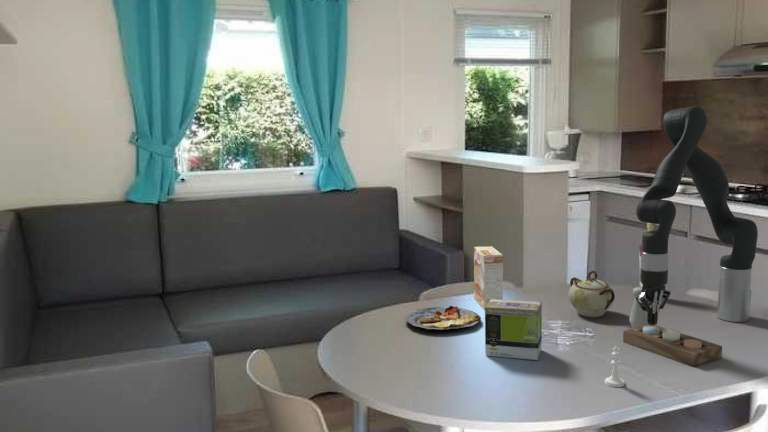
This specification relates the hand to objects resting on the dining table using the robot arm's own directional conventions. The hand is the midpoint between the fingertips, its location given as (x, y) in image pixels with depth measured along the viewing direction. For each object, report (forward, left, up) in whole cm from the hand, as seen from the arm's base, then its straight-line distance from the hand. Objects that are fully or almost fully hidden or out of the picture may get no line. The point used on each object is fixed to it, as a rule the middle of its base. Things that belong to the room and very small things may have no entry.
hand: (652, 324), depth 207 cm
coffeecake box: (+14, -59, -6) cm, 61 cm away
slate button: (0, 0, -4) cm, 4 cm away
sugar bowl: (-7, -30, -6) cm, 32 cm away
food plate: (+40, -50, -6) cm, 65 cm away
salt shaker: (-8, -11, -6) cm, 15 cm away
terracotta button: (0, +14, -4) cm, 14 cm away
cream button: (0, +7, -3) cm, 8 cm away
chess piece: (+32, +15, -6) cm, 36 cm away
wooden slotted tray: (0, +7, -6) cm, 9 cm away
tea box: (+39, -16, -6) cm, 43 cm away
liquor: (-38, -32, -6) cm, 50 cm away
